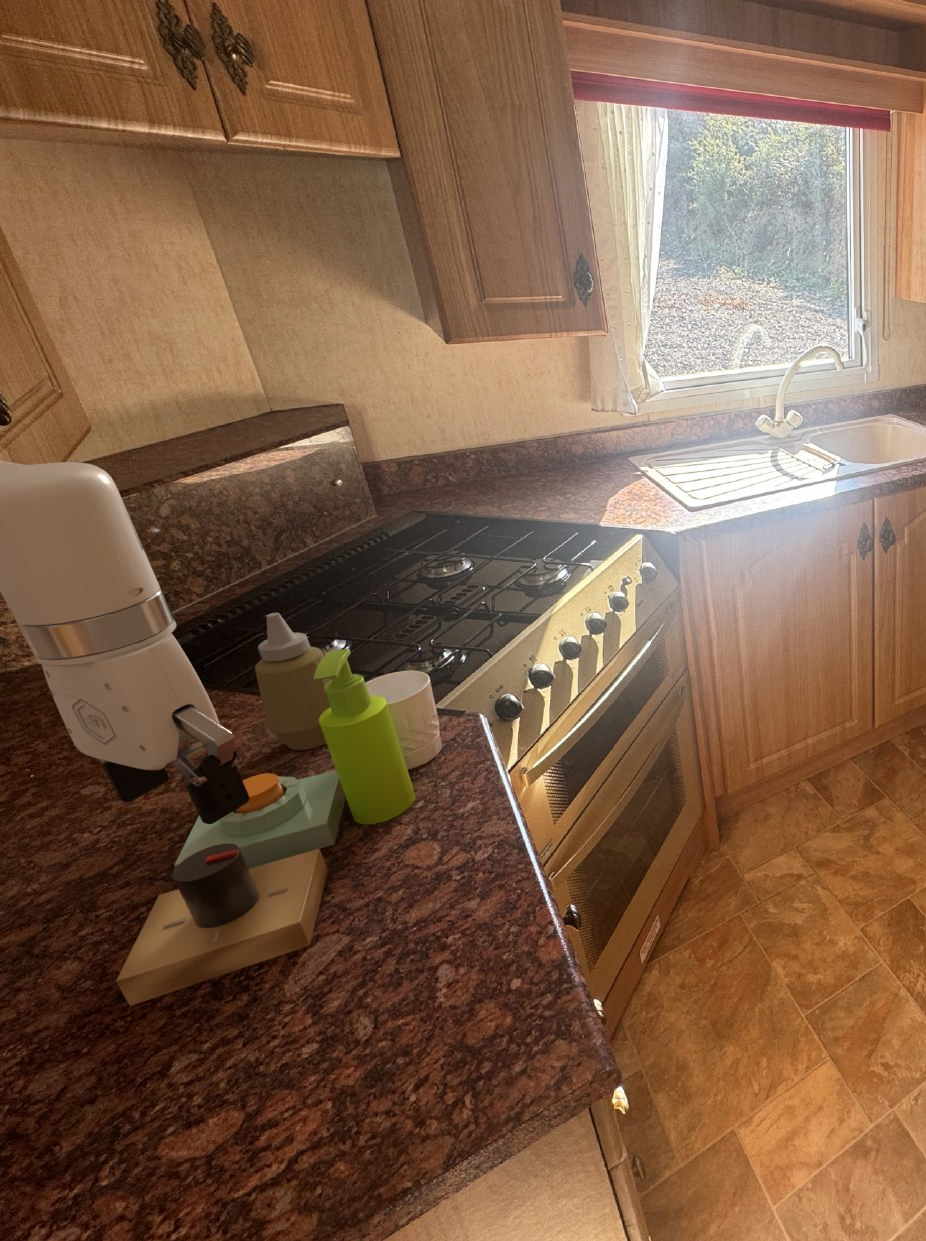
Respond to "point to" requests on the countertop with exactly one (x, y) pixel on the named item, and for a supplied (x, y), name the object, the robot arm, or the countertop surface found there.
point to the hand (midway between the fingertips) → (186, 801)
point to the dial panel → (225, 931)
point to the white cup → (411, 713)
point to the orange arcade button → (261, 792)
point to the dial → (216, 885)
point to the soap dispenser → (363, 744)
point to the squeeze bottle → (291, 686)
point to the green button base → (278, 823)
